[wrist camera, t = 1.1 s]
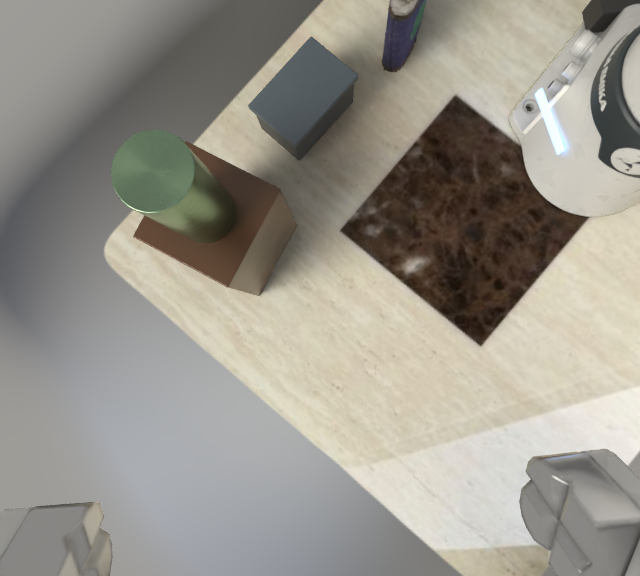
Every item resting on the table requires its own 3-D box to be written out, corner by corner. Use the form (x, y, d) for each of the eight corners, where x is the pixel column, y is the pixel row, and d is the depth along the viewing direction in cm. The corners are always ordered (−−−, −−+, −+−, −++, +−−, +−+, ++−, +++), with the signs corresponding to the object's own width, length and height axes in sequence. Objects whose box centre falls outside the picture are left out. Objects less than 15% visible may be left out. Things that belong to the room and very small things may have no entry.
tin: (194, 172, 35) (136, 115, 25) (247, 199, 35) (209, 152, 25) (165, 225, 35) (95, 189, 25) (218, 254, 35) (168, 228, 25)
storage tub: (314, 66, 49) (311, 35, 44) (356, 101, 49) (358, 74, 43) (257, 128, 49) (247, 105, 44) (299, 164, 48) (294, 145, 43)
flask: (405, -6, 49) (423, -95, 38) (430, 3, 49) (455, -85, 38) (377, 69, 49) (387, -1, 38) (401, 77, 48) (418, 9, 38)
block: (227, 188, 49) (185, 140, 36) (297, 224, 48) (280, 189, 35) (188, 258, 48) (132, 236, 35) (259, 296, 48) (227, 287, 35)
